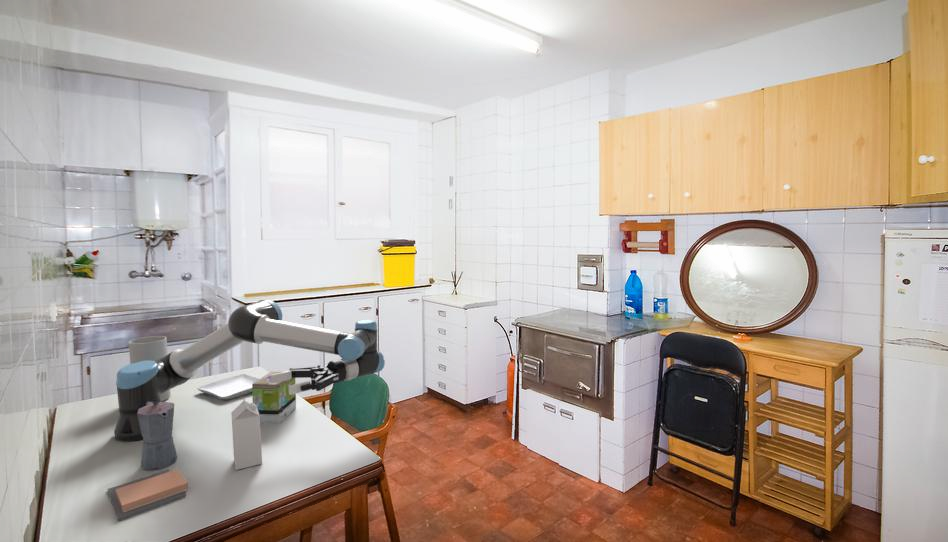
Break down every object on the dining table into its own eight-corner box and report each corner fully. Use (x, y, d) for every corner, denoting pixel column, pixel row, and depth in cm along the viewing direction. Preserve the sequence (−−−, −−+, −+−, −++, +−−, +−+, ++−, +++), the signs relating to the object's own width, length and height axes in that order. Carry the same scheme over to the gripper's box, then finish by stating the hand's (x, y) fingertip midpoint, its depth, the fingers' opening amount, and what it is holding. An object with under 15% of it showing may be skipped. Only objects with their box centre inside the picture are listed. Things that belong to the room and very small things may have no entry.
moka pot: (152, 477, 131) (147, 409, 129) (127, 463, 139) (122, 398, 137) (188, 462, 139) (184, 398, 137) (162, 449, 147) (158, 388, 145)
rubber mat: (107, 491, 124) (107, 489, 124) (168, 471, 134) (168, 469, 134) (118, 521, 112) (118, 518, 111) (185, 496, 121) (185, 494, 121)
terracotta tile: (178, 475, 131) (116, 496, 121) (177, 469, 130) (115, 489, 120) (187, 490, 123) (122, 513, 114) (187, 482, 123) (122, 505, 113)
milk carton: (235, 470, 134) (231, 407, 132) (234, 460, 140) (230, 399, 138) (262, 464, 138) (259, 402, 136) (259, 454, 144) (256, 394, 142)
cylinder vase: (128, 401, 188) (123, 340, 186) (162, 392, 198) (158, 334, 196) (141, 408, 181) (136, 345, 178) (176, 398, 191) (171, 338, 189)
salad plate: (223, 404, 185) (222, 396, 185) (195, 394, 196) (195, 386, 196) (271, 389, 203) (271, 381, 202) (243, 380, 214) (243, 373, 214)
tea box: (280, 424, 166) (278, 383, 164) (252, 424, 166) (250, 383, 165) (297, 407, 181) (295, 370, 179) (271, 407, 181) (269, 370, 180)
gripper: (361, 390, 150) (297, 407, 135) (324, 372, 168) (264, 386, 153) (361, 367, 149) (297, 382, 135) (324, 351, 167) (263, 364, 152)
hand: (279, 384), depth 144 cm, fingers open, 13 cm apart
